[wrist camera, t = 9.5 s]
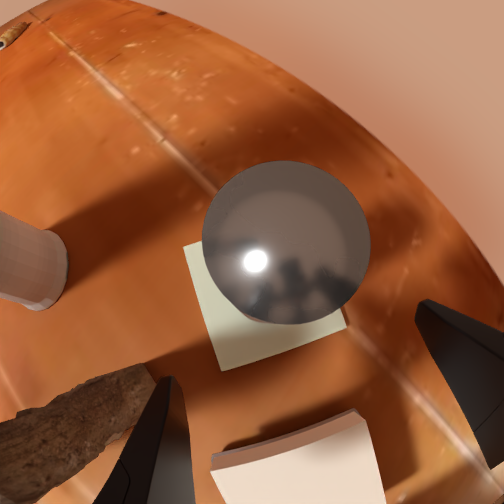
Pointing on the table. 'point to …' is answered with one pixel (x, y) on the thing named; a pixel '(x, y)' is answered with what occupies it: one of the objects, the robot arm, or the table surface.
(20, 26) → the pastry
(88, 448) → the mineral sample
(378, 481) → the slab on rollers
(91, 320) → the table surface
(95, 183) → the table surface
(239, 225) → the silver metal cylinder
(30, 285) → the container
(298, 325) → the mat
